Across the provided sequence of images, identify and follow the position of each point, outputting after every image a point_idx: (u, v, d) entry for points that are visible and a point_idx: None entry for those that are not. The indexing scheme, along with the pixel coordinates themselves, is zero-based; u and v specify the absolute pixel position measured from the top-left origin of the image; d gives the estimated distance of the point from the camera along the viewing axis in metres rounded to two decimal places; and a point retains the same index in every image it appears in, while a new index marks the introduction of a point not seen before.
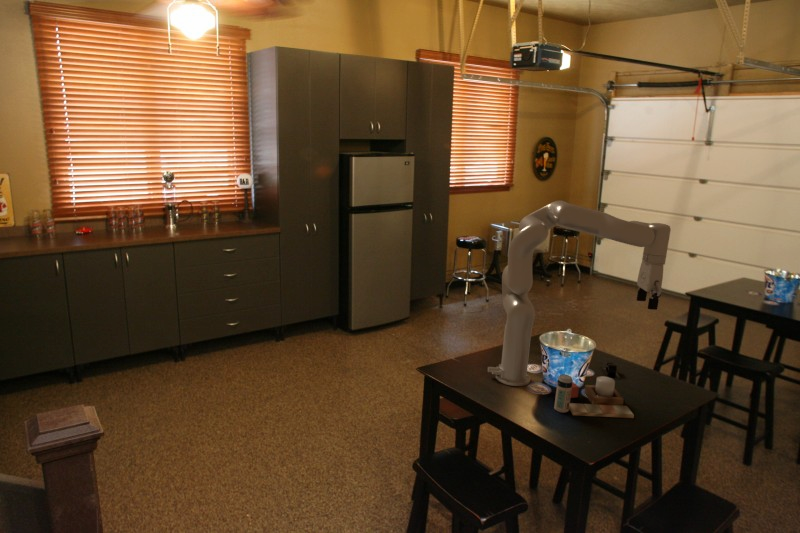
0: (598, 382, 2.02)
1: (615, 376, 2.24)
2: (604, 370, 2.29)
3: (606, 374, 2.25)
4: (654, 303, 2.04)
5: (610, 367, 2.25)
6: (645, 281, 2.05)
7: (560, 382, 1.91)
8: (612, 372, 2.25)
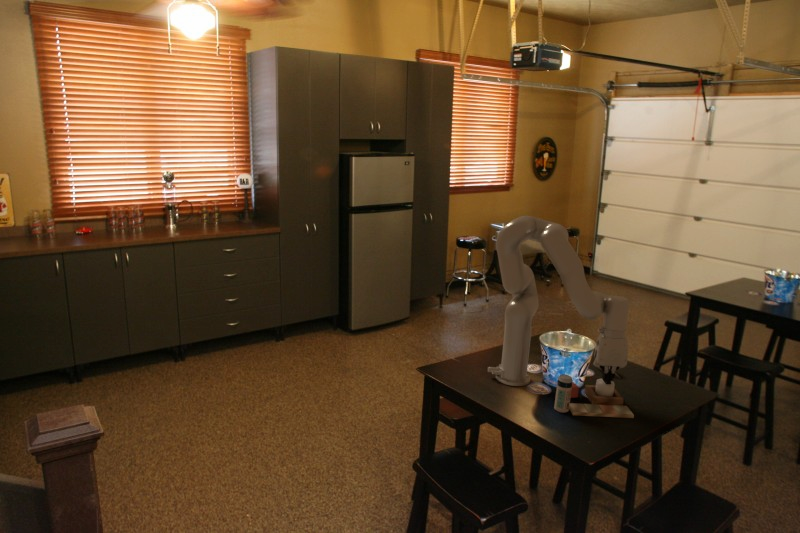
0: (598, 384, 2.02)
1: (615, 376, 2.24)
2: (602, 371, 2.28)
3: None
4: None
5: None
6: (620, 357, 1.97)
7: (560, 382, 1.91)
8: None
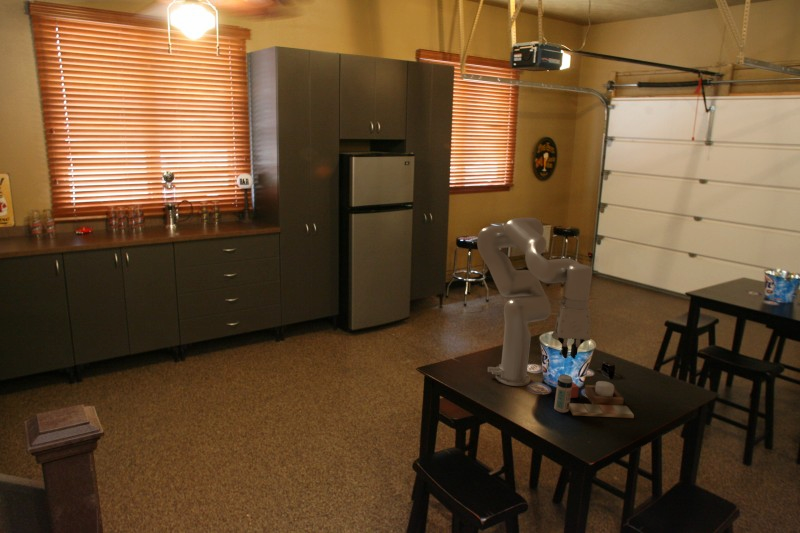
0: (597, 387, 2.02)
1: (615, 375, 2.24)
2: (600, 371, 2.28)
3: (607, 375, 2.24)
4: None
5: (610, 368, 2.24)
6: (582, 329, 1.86)
7: (560, 382, 1.91)
8: (611, 372, 2.25)
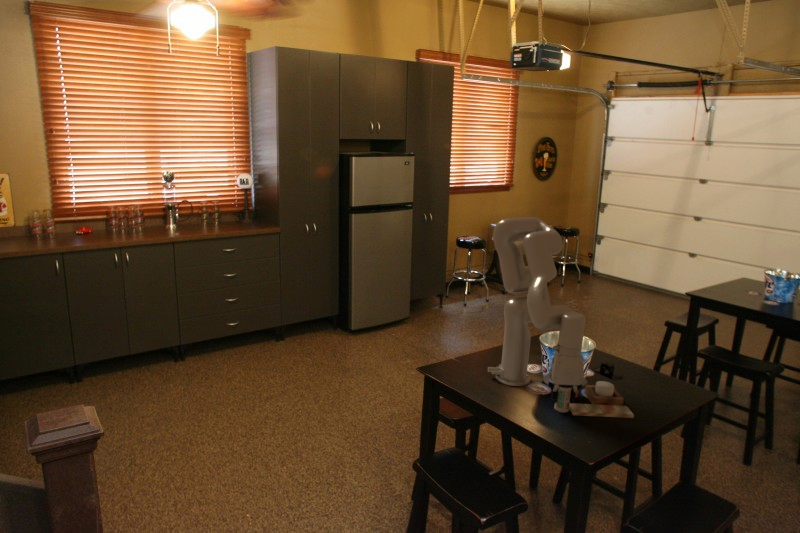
0: (597, 387, 2.02)
1: (615, 375, 2.25)
2: (600, 372, 2.27)
3: (608, 376, 2.24)
4: None
5: (610, 368, 2.24)
6: (575, 376, 1.89)
7: None
8: (611, 372, 2.25)
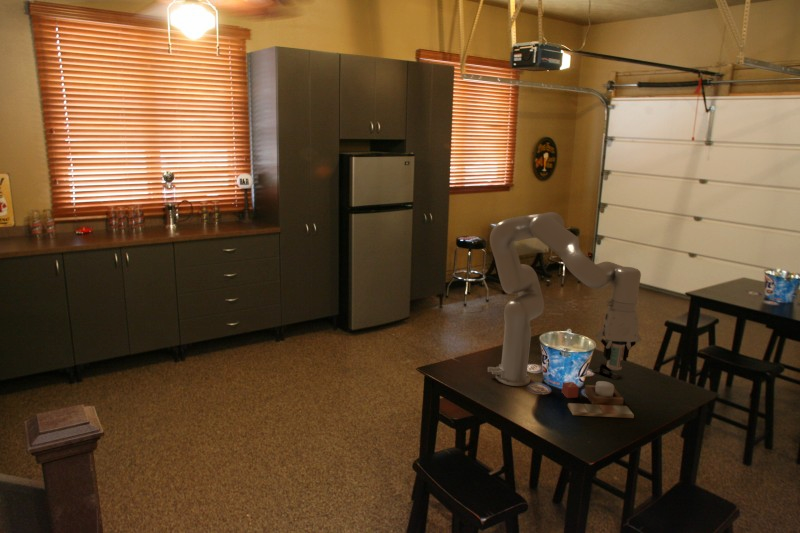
0: (597, 387, 2.02)
1: (615, 375, 2.25)
2: (599, 373, 2.26)
3: (609, 376, 2.23)
4: None
5: None
6: (630, 332, 1.86)
7: None
8: (611, 372, 2.25)
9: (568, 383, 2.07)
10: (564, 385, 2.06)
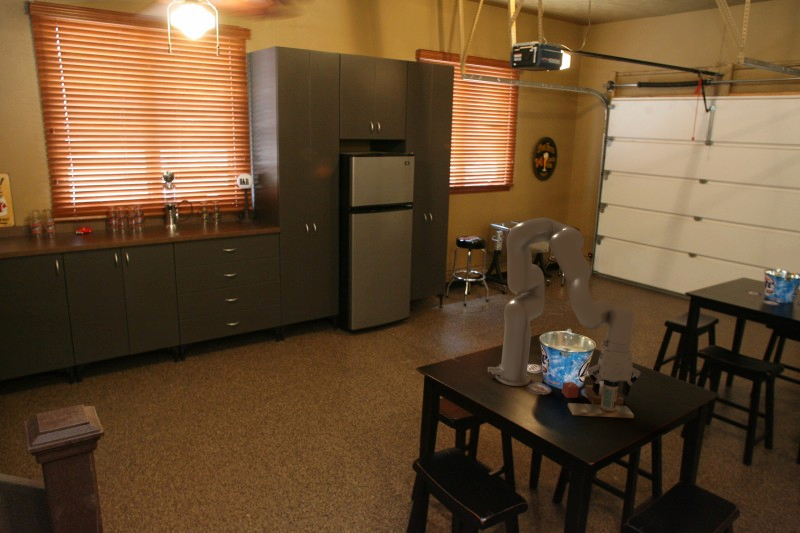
0: None
1: None
2: None
3: None
4: None
5: None
6: (624, 371, 1.89)
7: (607, 381, 1.91)
8: None
9: (568, 383, 2.07)
10: (564, 385, 2.06)
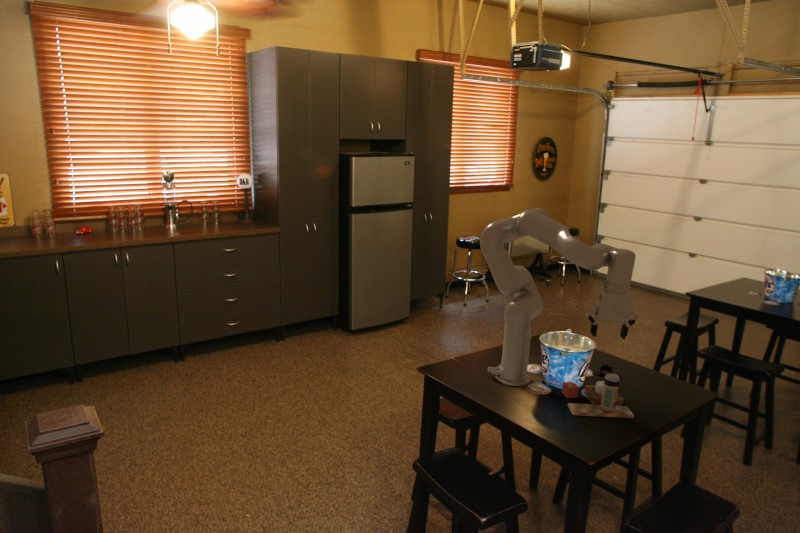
0: (597, 387, 2.02)
1: None
2: (601, 375, 2.24)
3: None
4: None
5: (611, 369, 2.23)
6: (623, 313, 1.89)
7: (608, 381, 1.91)
8: None
9: (568, 383, 2.07)
10: (564, 385, 2.06)
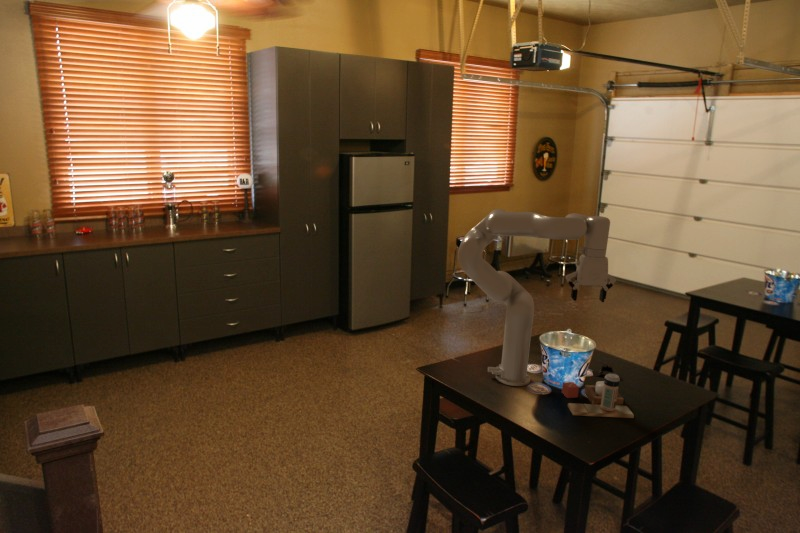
0: (597, 387, 2.02)
1: None
2: (602, 376, 2.23)
3: None
4: None
5: (612, 369, 2.23)
6: (600, 277, 1.99)
7: (608, 381, 1.91)
8: None
9: (568, 383, 2.07)
10: (564, 385, 2.06)
